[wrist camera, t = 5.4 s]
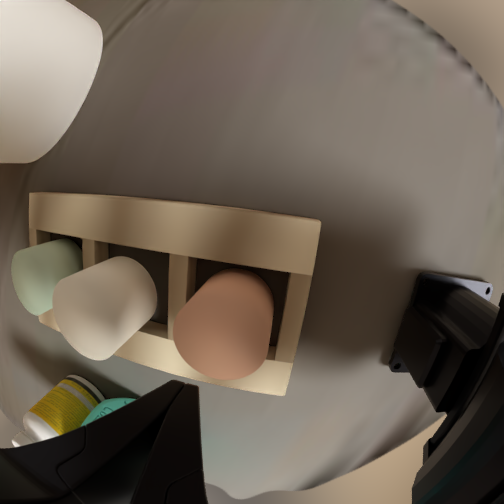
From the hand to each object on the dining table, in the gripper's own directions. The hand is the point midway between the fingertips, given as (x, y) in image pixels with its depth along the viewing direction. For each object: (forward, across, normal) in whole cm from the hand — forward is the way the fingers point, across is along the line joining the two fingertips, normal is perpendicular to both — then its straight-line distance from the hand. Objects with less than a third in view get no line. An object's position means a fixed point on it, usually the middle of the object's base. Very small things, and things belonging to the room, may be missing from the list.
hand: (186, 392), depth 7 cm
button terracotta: (+7, 0, 0) cm, 7 cm away
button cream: (+6, +6, 0) cm, 8 cm away
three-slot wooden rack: (+8, +6, 0) cm, 10 cm away
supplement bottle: (+8, +13, +13) cm, 20 cm away
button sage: (+7, +12, 0) cm, 14 cm away
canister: (+8, +18, -14) cm, 24 cm away
